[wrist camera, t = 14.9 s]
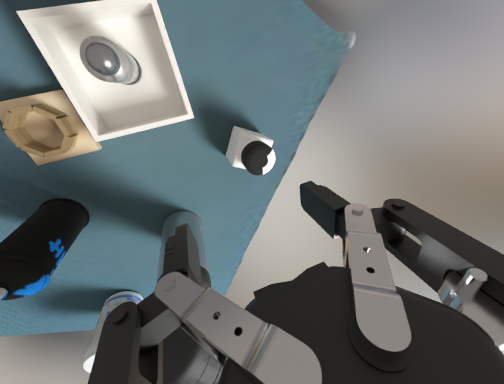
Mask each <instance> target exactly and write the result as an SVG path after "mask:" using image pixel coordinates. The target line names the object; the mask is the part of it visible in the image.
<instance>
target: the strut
mask: <svg viewBox="0 0 504 384" xmlns="http://www.w3.org/2000/svg"><path fill="white" fill-rule="evenodd" d="M80 58H81V61H82V63H83V65H84V66H85V68H86V69H87V70H88V72H89V73H91V74H92V75H93V76H94V77H96V78H98V79H100V80H102V81H105V82H113V83H121V84H126V85H133V84H136V83H138V82H139V81H140V79H141V77H142V69H141V66H140V64H139V62H138V61H137V60H136V59H135V58H134V57H133V56H132V55H131V54H129V53H128V52H126V51H124V50H123V49H121V48H120V47H119V46H117V45H116V44H115V43H113V42H112V41H111V40H109V39H107V38H105V37H101V36H90V37H88V38H86V39H84V41H83V42H82V43H81V46H80Z"/></svg>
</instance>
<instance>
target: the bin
mask: <svg viewBox="0 0 504 384" xmlns="http://www.w3.org/2000/svg"><path fill="white" fill-rule="evenodd" d="M16 12H17V14H18V15H19V17H20V19H21V20H22V22H23V23H24V25H25V27H26V28H27V30H28V32H29V33H30V35H31V37H32V38H33V40H34V42H35V43H36V45H37V46H38V48H39V50H40V51H41V53H42V55H43V56H44V58H45V60H46V61H47V63H48V64H49V66H50V68H51V69H52V71H53V73H54V74H55V76H56V78H57V79H58V81H59V83H60V84H61V86H62V87H63V89H64V91H65V92H66V94H67V96H68V97H69V99H70V101H71V102H72V104H73V105H74V107H75V109H76V110H77V112H78V114H79V115H80V117H81V119H82V120H83V122H84V123H85V125H86V127H87V128H88V130H89V132H90V133H91V135H92V137H93V138H94V140H95V142H99V141H103V140H107V139H111V138H115V137H119V136H123V135H127V134H131V133H135V132H139V131H143V130H147V129H151V128H155V127H159V126H164V125H168V124H172V123H176V122H180V121H184V120H188V119H192V118H194V116H193V113H192V109H191V106H190V103H189V100H188V97H187V94H186V91H185V88H184V85H183V81H182V78H181V75H180V72H179V69H178V66H177V63H176V60H175V57H174V53H173V50H172V47H171V44H170V41H169V38H168V35H167V32H166V29H165V25H164V22H163V19H162V16H161V13H160V10H159V7H158V4H157V1H156V0H101V1H93V2H85V3H78V4H70V5H62V6H54V7H46V8H38V9H31V10H23V11H16ZM90 36H101V37H105V38H107V39H109V40H111V41H112V42H113V43H115V44H116V45H117V46H119V47H120V48H121V49H123V50H124V51H126V52H128V53H129V54H131V55H132V56H133V57H134V58H135V59H136V60H137V61H138V62H139V64H140V66H141V69H142V77H141V79H140V81H139V82H138V83H136V84H133V85H126V84H121V83H113V82H105V81H102V80H100V79H98V78H96V77H94V76H93V75H92V74H91V73H89V72H88V70H87V69H86V68H85V66H84V65H83V63H82V61H81V58H80V46H81V43H82V42H83V41H84V39H86V38H88V37H90Z"/></svg>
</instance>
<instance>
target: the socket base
mask: <svg viewBox="0 0 504 384" xmlns="http://www.w3.org/2000/svg"><path fill="white" fill-rule="evenodd" d="M0 120H1V121H2V123H3V127H2V128H4V129H7V130H4V132H5V133H6V135H7V136H8V137H9V138H10V139H11V141H12V142H13V143H14V144H15V145H16V147H17V148H18V147H21V150H22V151H25V152H27V153H28V154H29V156H30V157H31V158H32V159H33V160H34V162H35V163H36V164H37V165H42V164H46V163H50V162H53V161H57V160H61V159H65V158H69V157H73V156H77V155H81V154H85V153H89V152H93V151H97V150H100V149H101V148H102V147H101V145H100V144H99V142H95V140H94V138H93V137H92V135H91V133H90V132H89V130H88V128H87V127H86V125H85V123H84V122H83V120H82V119H81V117H80V115H79V114H78V112H77V110H76V109H75V107H74V105H73V104H72V102H71V101H70V99H69V97H68V96H67V94H66V92H65V91H64V89H62V90H56V91H51V92H46V93H41V94H36V95H31V96H26V97H21V98H16V99H11V100H6V101H1V102H0Z"/></svg>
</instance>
